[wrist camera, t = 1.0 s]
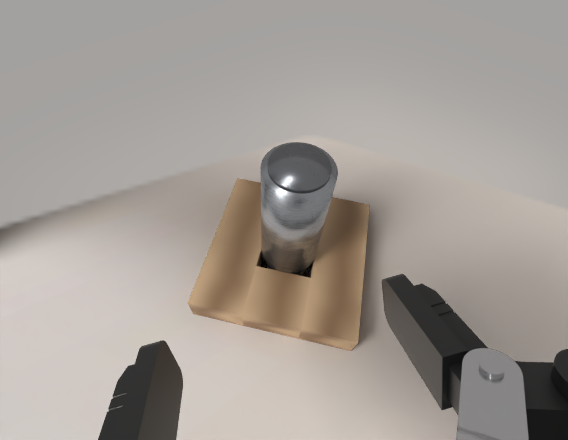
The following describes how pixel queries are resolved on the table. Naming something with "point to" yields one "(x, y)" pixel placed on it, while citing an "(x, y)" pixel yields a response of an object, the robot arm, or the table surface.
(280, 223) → the brushed metal cylinder
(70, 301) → the table surface
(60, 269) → the table surface
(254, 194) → the housing
